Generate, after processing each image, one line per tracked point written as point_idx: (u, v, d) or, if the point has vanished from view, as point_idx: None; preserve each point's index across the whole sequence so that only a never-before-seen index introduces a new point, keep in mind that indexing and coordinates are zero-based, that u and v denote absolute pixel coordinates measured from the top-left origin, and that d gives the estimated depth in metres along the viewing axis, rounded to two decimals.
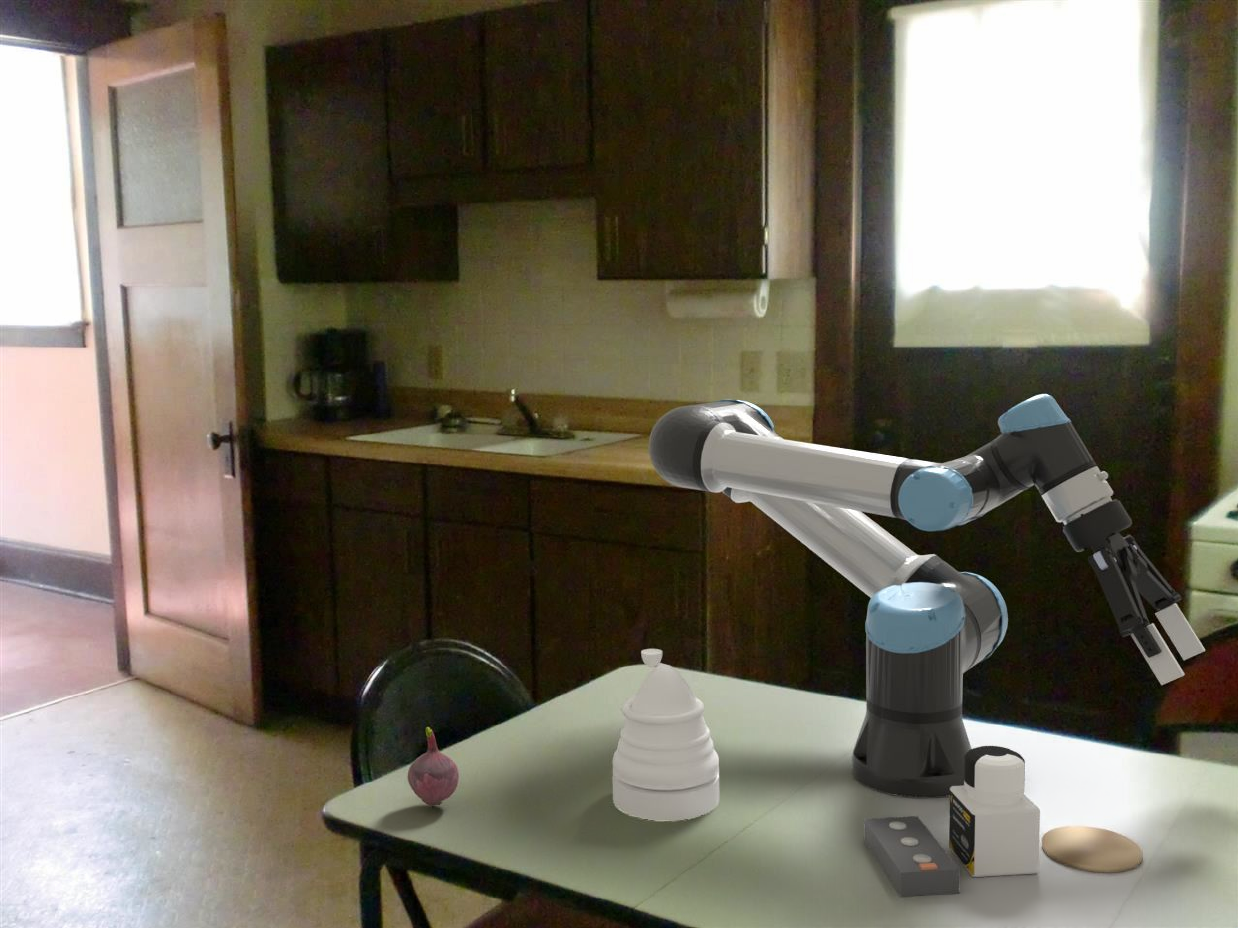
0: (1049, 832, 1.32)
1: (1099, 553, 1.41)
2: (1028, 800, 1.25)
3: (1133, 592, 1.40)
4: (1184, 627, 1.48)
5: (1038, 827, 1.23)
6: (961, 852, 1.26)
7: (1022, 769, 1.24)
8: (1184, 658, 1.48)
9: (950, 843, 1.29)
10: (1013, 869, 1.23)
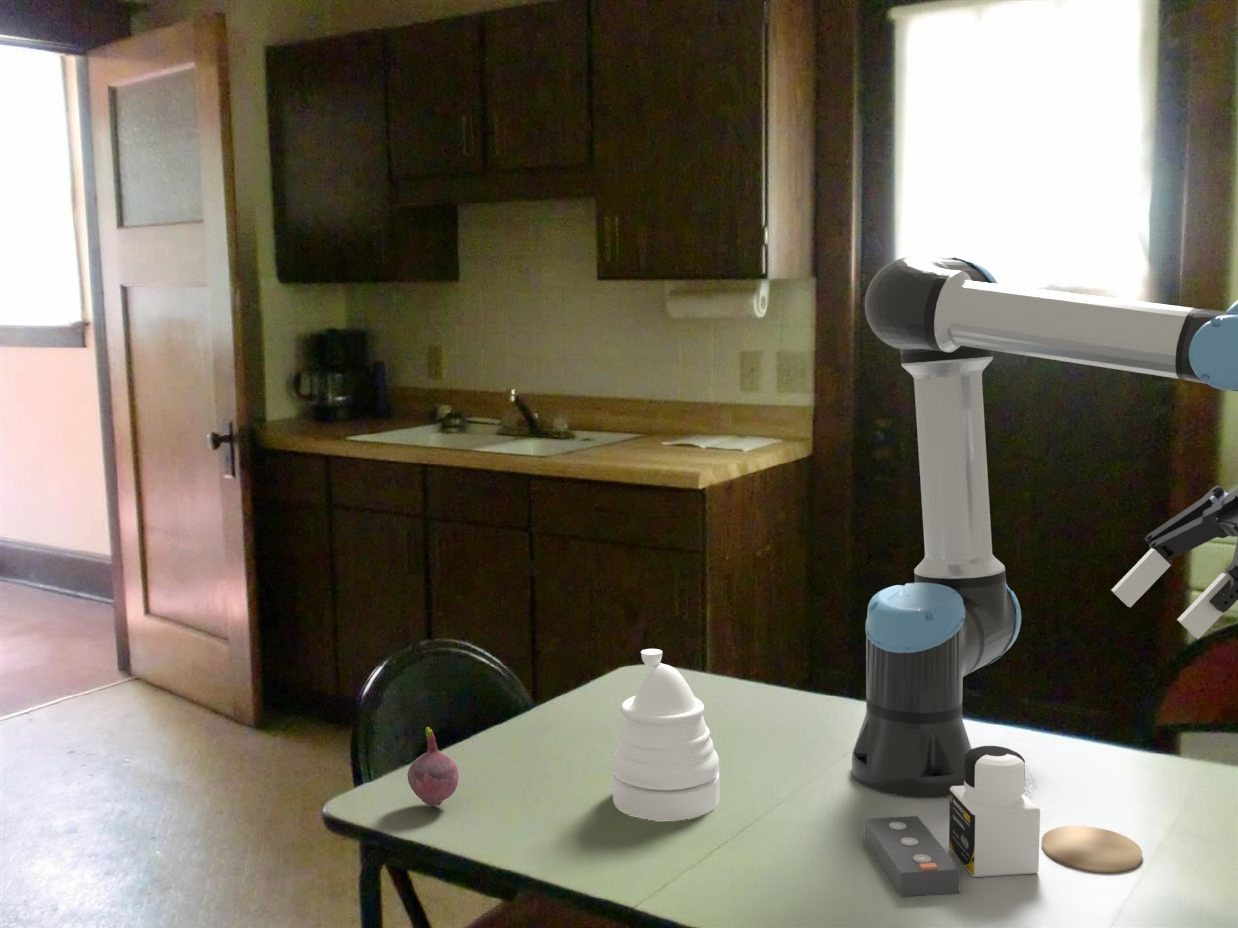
0: (1049, 832, 1.32)
1: None
2: (1028, 800, 1.25)
3: None
4: (1149, 581, 1.34)
5: (1038, 827, 1.23)
6: (961, 852, 1.26)
7: (1022, 769, 1.24)
8: (1116, 591, 1.34)
9: (950, 843, 1.29)
10: (1013, 869, 1.23)
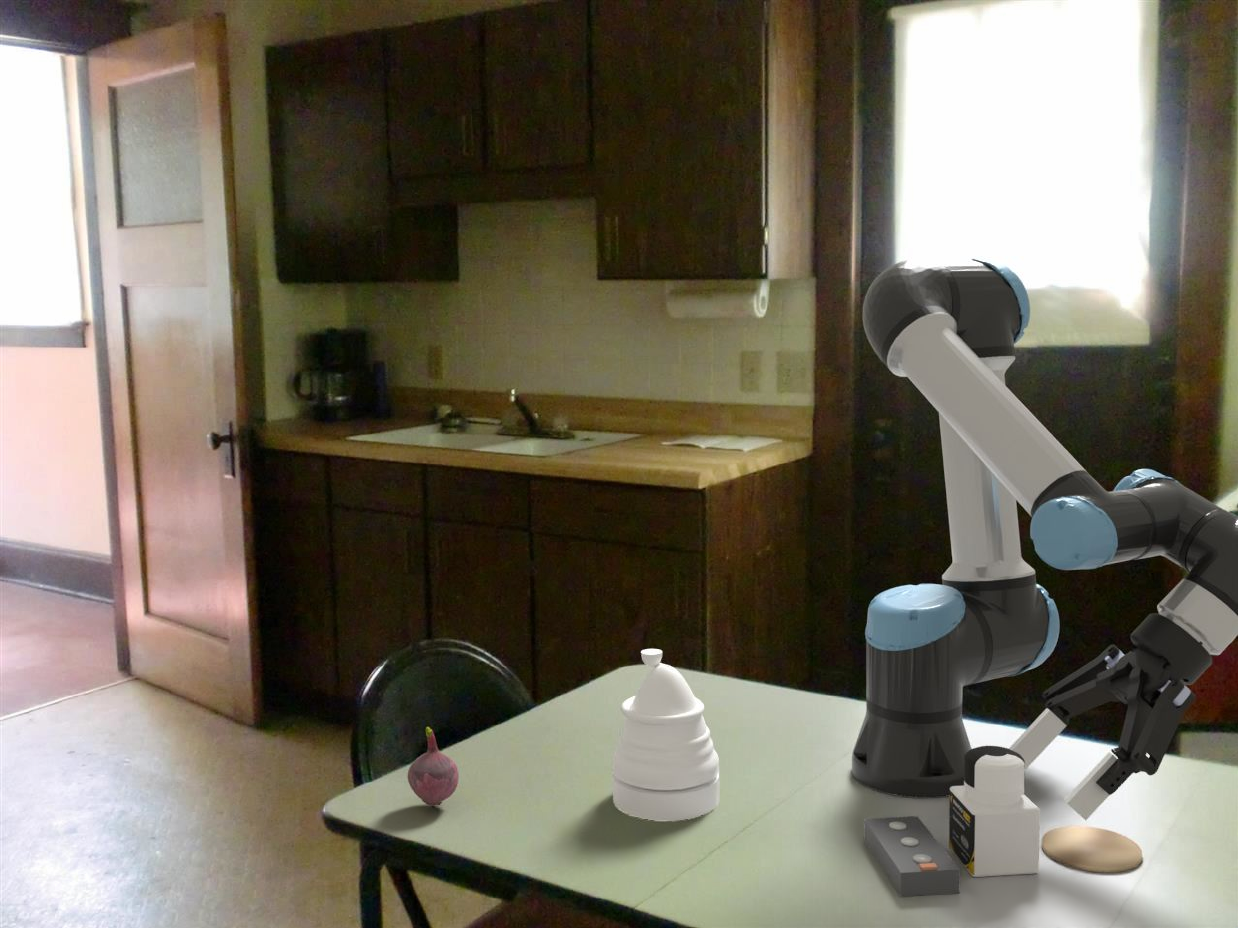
0: (1049, 832, 1.32)
1: (1189, 691, 1.18)
2: (1028, 800, 1.25)
3: None
4: (1044, 742, 1.31)
5: (1038, 827, 1.23)
6: (961, 852, 1.26)
7: (1022, 769, 1.24)
8: None
9: (950, 843, 1.29)
10: (1013, 869, 1.23)
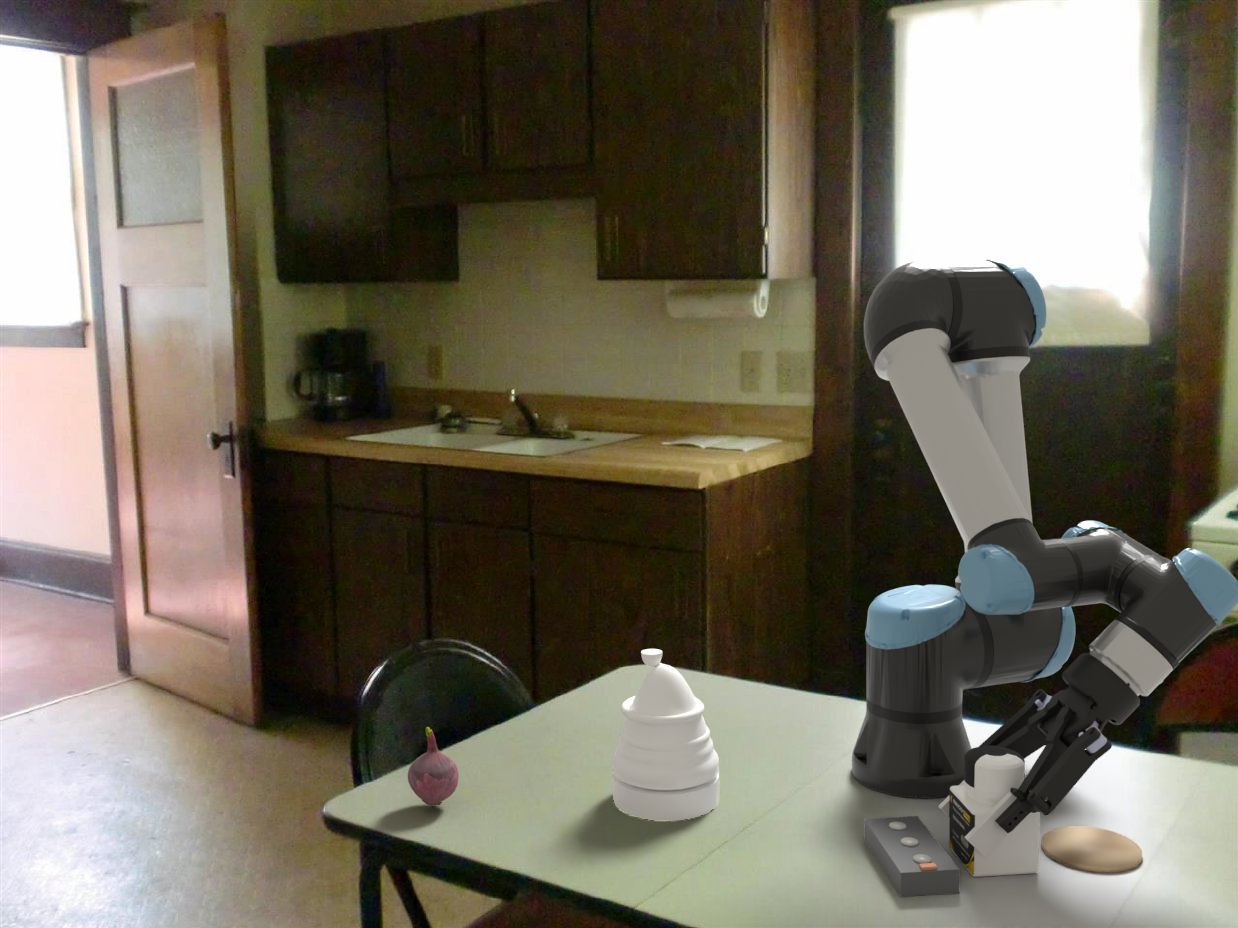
0: (1049, 832, 1.32)
1: (1104, 742, 1.19)
2: None
3: None
4: None
5: (1038, 827, 1.23)
6: (961, 852, 1.26)
7: (1022, 769, 1.24)
8: (942, 808, 1.30)
9: (950, 842, 1.29)
10: (1013, 869, 1.23)
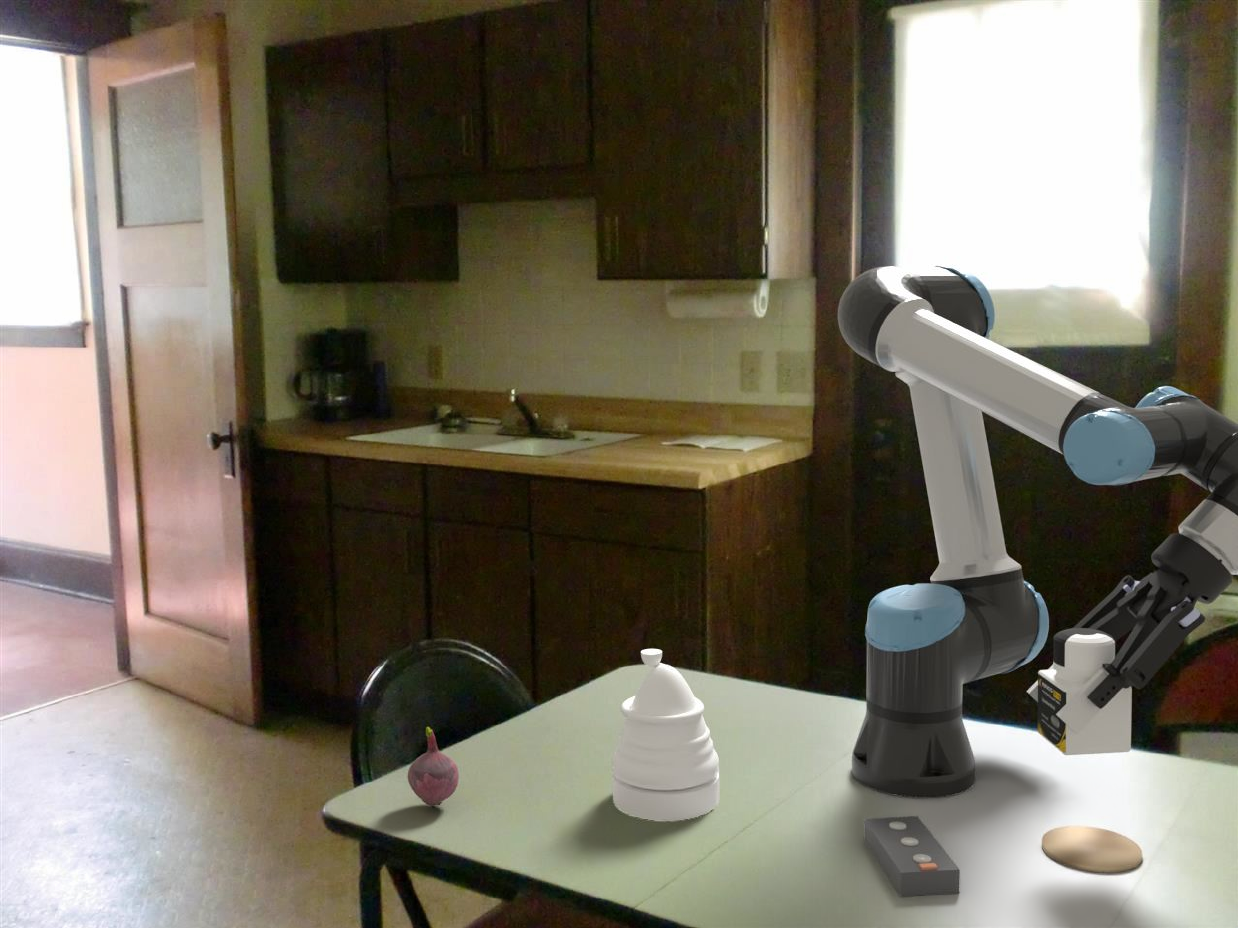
0: (1049, 832, 1.32)
1: (1198, 614, 1.19)
2: None
3: None
4: None
5: (1130, 705, 1.23)
6: (1051, 733, 1.26)
7: (1113, 647, 1.24)
8: (1031, 693, 1.30)
9: (1039, 727, 1.29)
10: (1105, 747, 1.23)
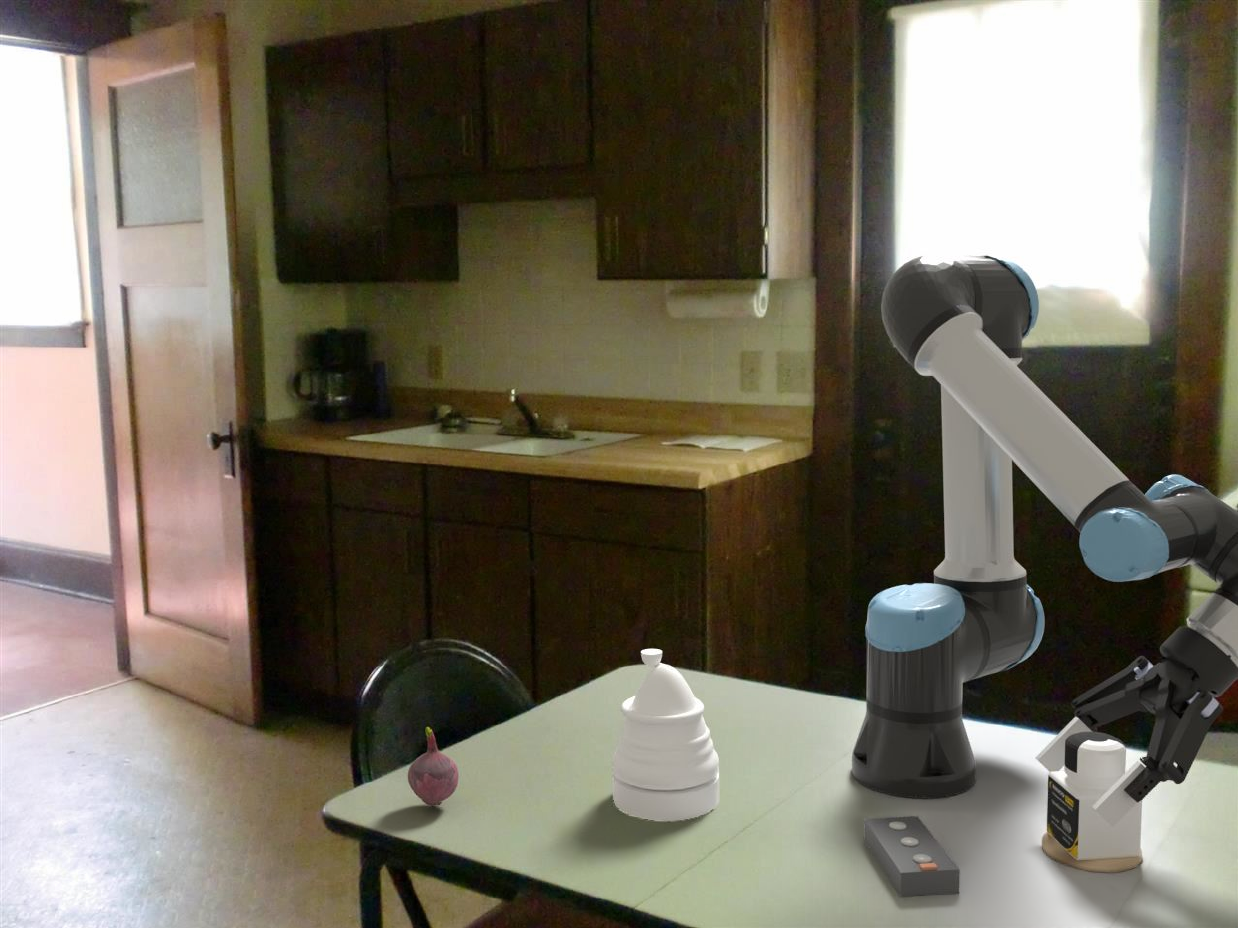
0: None
1: (1217, 703, 1.21)
2: None
3: None
4: None
5: (1140, 811, 1.25)
6: (1062, 836, 1.28)
7: (1124, 754, 1.26)
8: (1040, 760, 1.34)
9: (1049, 827, 1.31)
10: (1116, 853, 1.25)
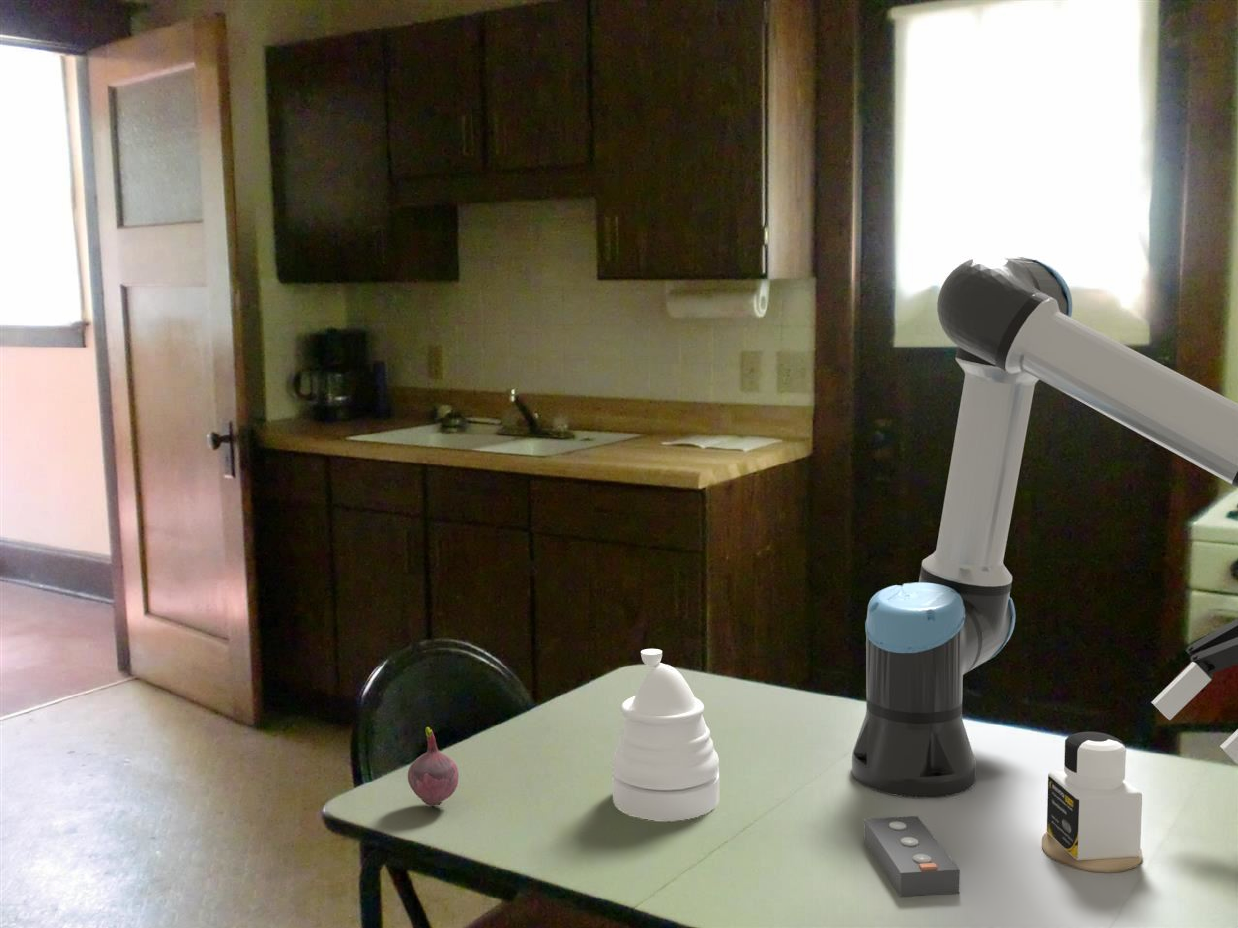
0: None
1: None
2: (1129, 785, 1.27)
3: None
4: (1189, 695, 1.35)
5: (1140, 811, 1.25)
6: (1062, 836, 1.28)
7: (1124, 754, 1.26)
8: (1156, 704, 1.35)
9: (1049, 827, 1.31)
10: (1116, 853, 1.25)
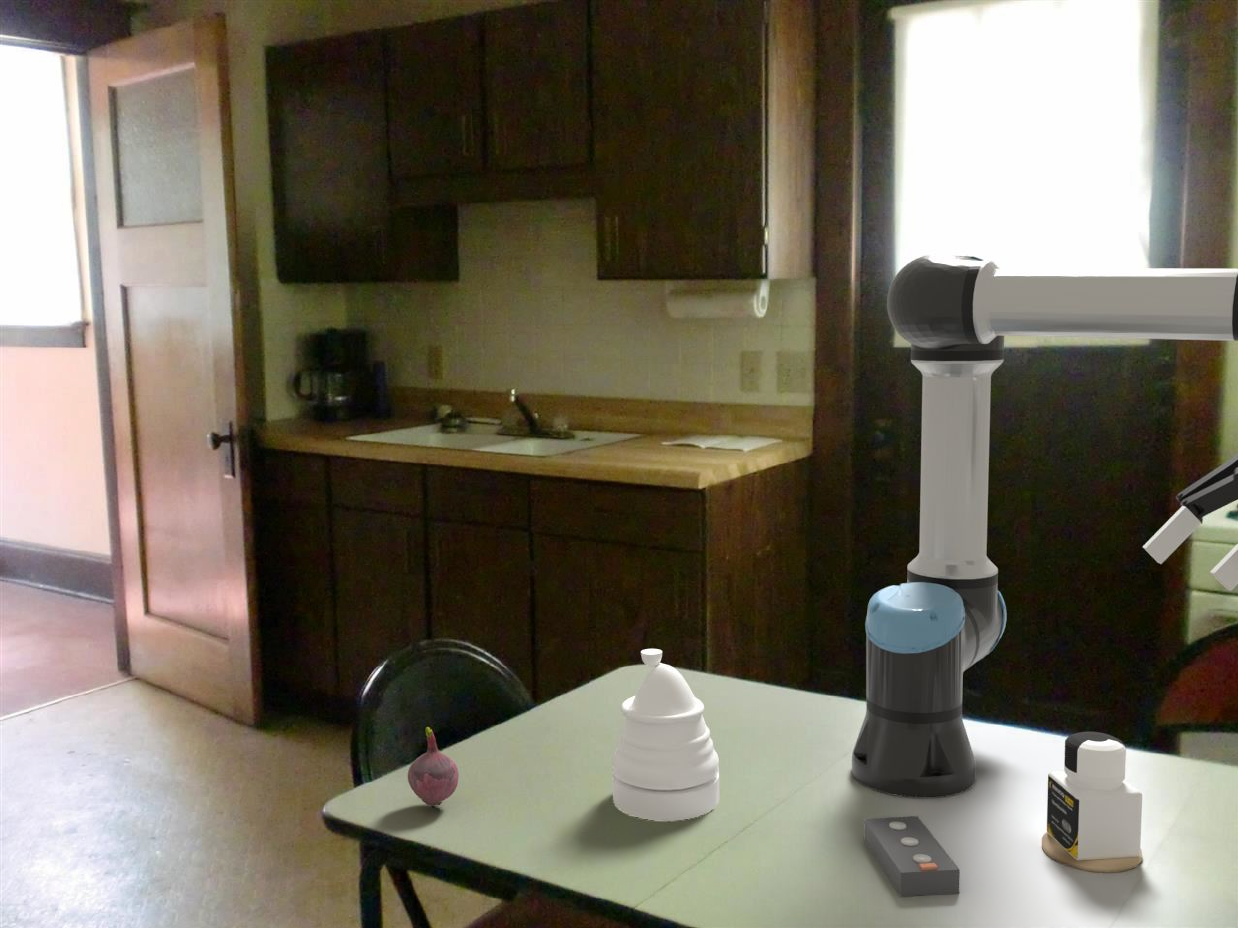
0: None
1: None
2: (1129, 785, 1.27)
3: None
4: (1180, 538, 1.36)
5: (1140, 811, 1.25)
6: (1062, 836, 1.28)
7: (1124, 754, 1.26)
8: (1147, 548, 1.36)
9: (1049, 827, 1.31)
10: (1116, 853, 1.25)
